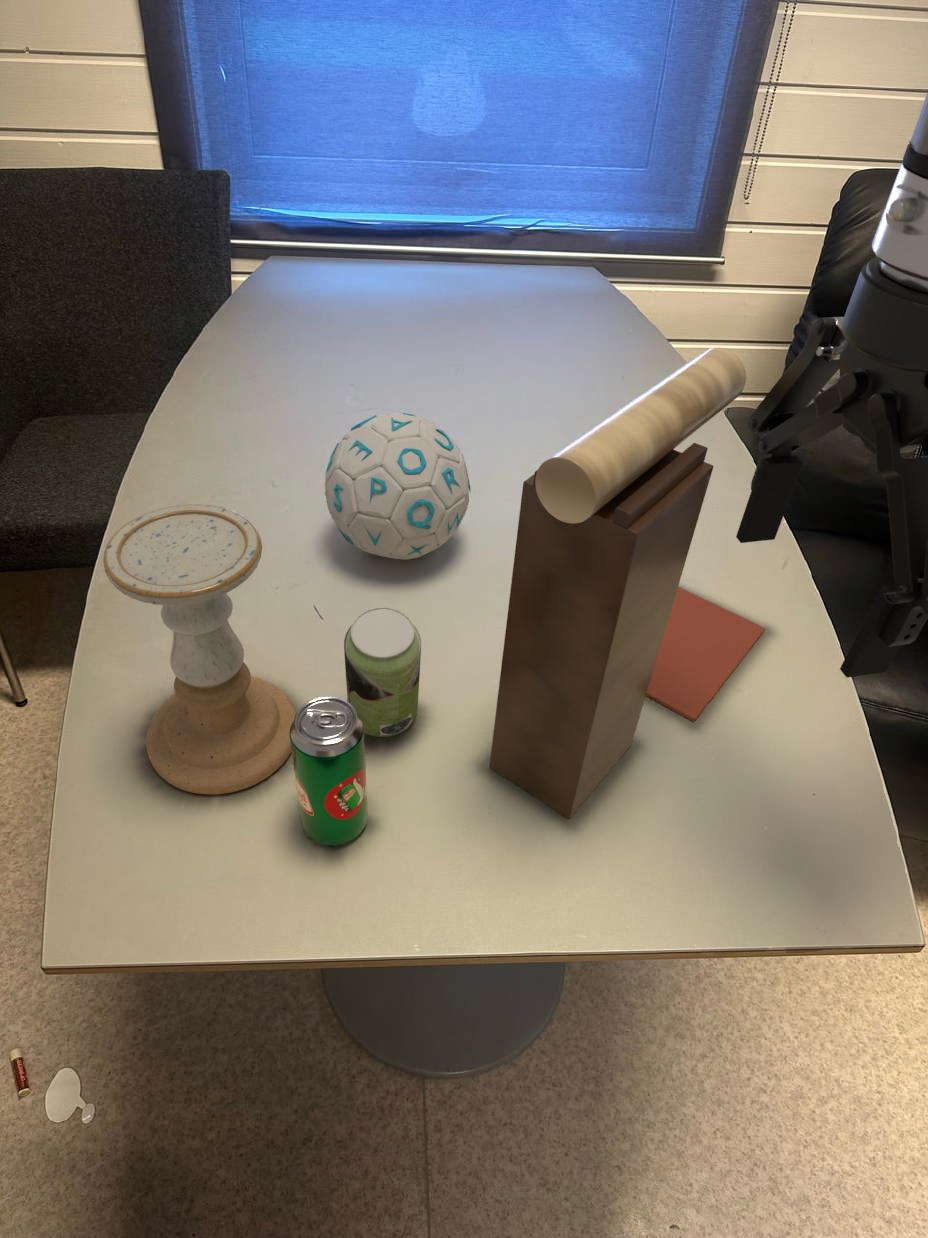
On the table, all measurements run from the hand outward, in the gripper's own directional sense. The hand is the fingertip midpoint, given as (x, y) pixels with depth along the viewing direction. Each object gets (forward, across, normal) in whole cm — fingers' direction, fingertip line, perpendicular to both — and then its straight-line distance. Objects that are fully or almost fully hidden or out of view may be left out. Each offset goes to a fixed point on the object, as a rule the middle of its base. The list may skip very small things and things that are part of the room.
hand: (803, 599), depth 55 cm
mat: (+21, -17, +3) cm, 27 cm away
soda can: (+21, -3, -32) cm, 38 cm away
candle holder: (+21, -13, -40) cm, 47 cm away
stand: (+21, -6, -12) cm, 25 cm away
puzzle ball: (+21, -37, -21) cm, 47 cm away
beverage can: (+21, -12, -26) cm, 36 cm away
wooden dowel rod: (-7, -7, -10) cm, 14 cm away
